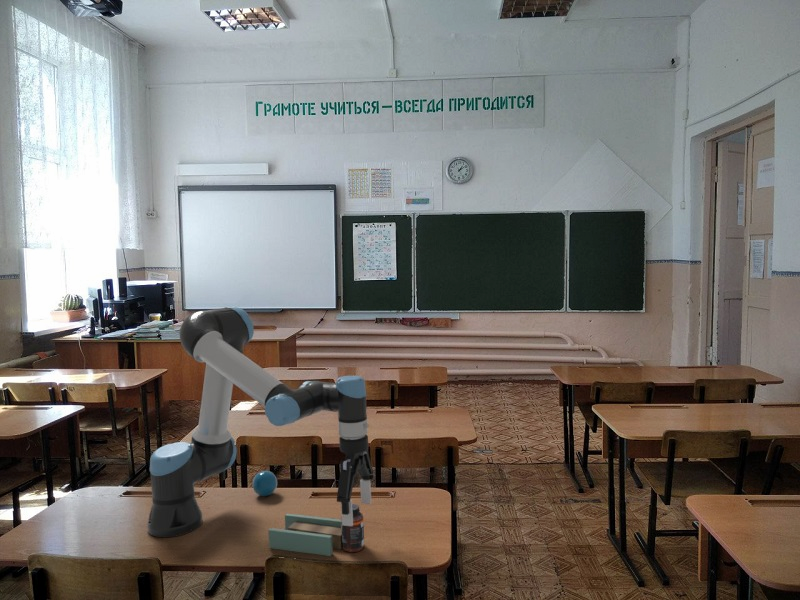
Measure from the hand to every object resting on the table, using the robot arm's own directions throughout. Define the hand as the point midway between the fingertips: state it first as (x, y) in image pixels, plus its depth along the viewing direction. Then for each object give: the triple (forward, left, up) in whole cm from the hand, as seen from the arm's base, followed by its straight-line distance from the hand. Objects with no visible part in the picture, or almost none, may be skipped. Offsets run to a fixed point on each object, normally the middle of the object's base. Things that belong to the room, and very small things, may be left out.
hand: (357, 513), depth 158 cm
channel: (-15, 0, -10) cm, 18 cm away
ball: (-43, +26, -10) cm, 51 cm away
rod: (-13, +2, -10) cm, 16 cm away
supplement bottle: (-2, +1, -10) cm, 10 cm away
